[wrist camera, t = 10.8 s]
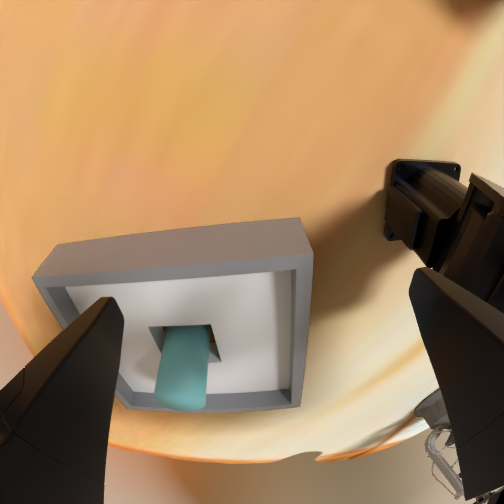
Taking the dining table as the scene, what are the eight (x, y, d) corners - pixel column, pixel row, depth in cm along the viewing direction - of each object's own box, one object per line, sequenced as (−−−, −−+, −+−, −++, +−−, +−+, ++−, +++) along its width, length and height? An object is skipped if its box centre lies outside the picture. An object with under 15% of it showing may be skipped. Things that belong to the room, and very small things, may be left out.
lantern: (422, 422, 51) (449, 519, 27) (401, 409, 43) (434, 539, 18) (483, 383, 45) (519, 480, 20) (480, 359, 36) (531, 488, 12)
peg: (206, 308, 25) (198, 388, 18) (214, 337, 27) (210, 411, 20) (163, 311, 25) (145, 387, 18) (175, 339, 27) (163, 410, 20)
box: (299, 217, 20) (313, 253, 16) (295, 373, 31) (300, 406, 27) (57, 244, 20) (31, 277, 17) (133, 378, 31) (126, 408, 28)
